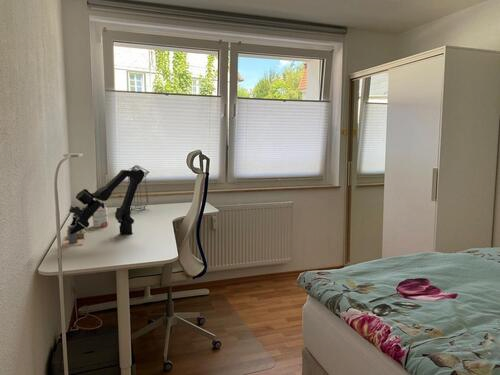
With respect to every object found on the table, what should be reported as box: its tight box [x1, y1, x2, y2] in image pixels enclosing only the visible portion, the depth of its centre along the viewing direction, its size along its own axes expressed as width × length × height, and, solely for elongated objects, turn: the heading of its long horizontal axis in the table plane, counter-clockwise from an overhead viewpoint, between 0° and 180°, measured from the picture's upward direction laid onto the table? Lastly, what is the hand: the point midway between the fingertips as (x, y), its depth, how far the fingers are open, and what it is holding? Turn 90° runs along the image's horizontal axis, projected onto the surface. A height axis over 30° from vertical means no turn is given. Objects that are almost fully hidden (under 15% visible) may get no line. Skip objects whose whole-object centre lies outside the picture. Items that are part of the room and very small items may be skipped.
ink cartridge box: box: [92, 203, 109, 228], centre depth 237 cm, size 9×5×15 cm, turn 105°
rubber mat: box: [61, 238, 85, 248], centre depth 199 cm, size 10×10×1 cm
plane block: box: [67, 229, 85, 241], centre depth 212 cm, size 8×11×4 cm
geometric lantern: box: [126, 165, 150, 212], centre depth 289 cm, size 16×16×35 cm
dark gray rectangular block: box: [66, 224, 78, 244], centre depth 198 cm, size 5×4×9 cm
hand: (69, 232), depth 197 cm, fingers open, 9 cm apart
